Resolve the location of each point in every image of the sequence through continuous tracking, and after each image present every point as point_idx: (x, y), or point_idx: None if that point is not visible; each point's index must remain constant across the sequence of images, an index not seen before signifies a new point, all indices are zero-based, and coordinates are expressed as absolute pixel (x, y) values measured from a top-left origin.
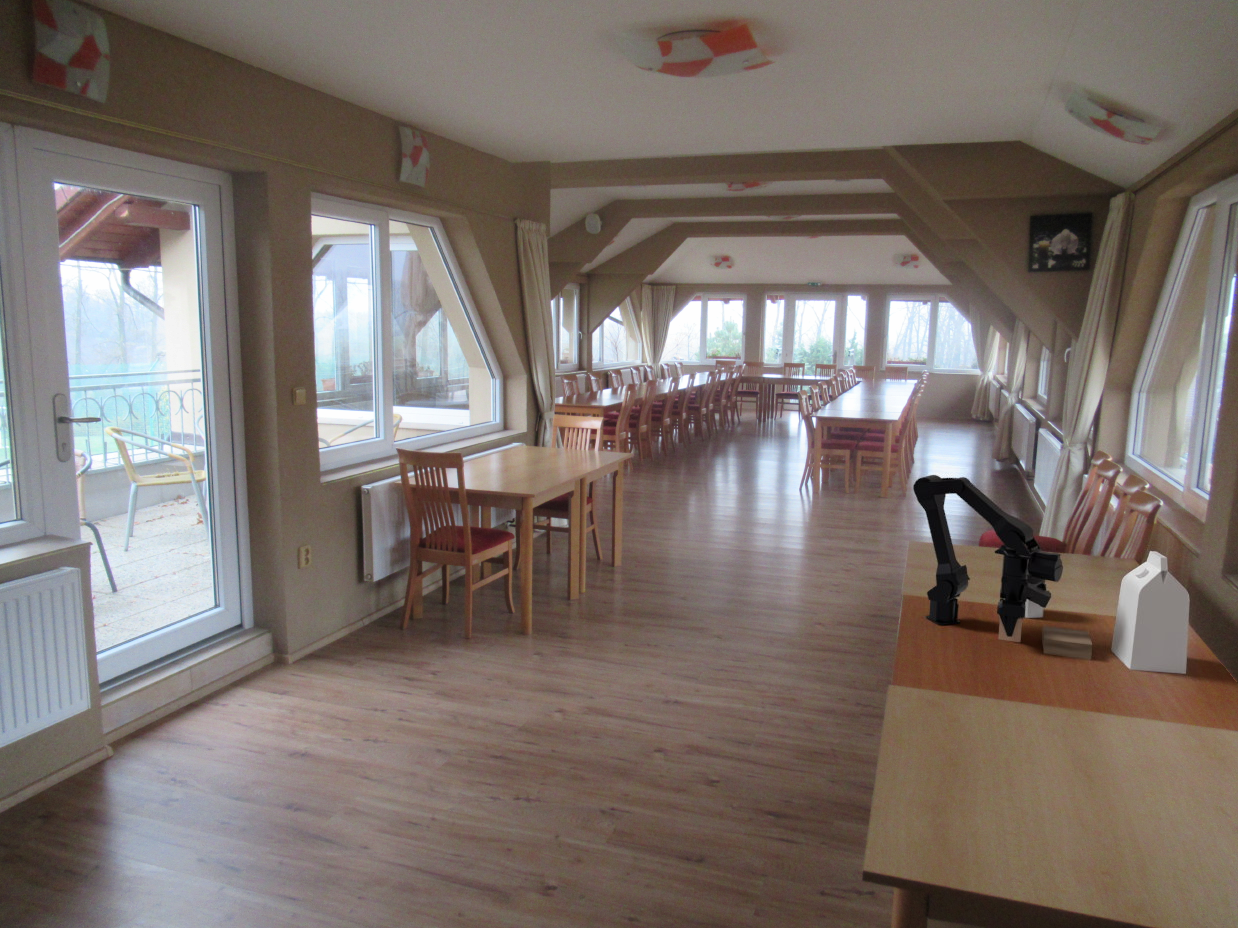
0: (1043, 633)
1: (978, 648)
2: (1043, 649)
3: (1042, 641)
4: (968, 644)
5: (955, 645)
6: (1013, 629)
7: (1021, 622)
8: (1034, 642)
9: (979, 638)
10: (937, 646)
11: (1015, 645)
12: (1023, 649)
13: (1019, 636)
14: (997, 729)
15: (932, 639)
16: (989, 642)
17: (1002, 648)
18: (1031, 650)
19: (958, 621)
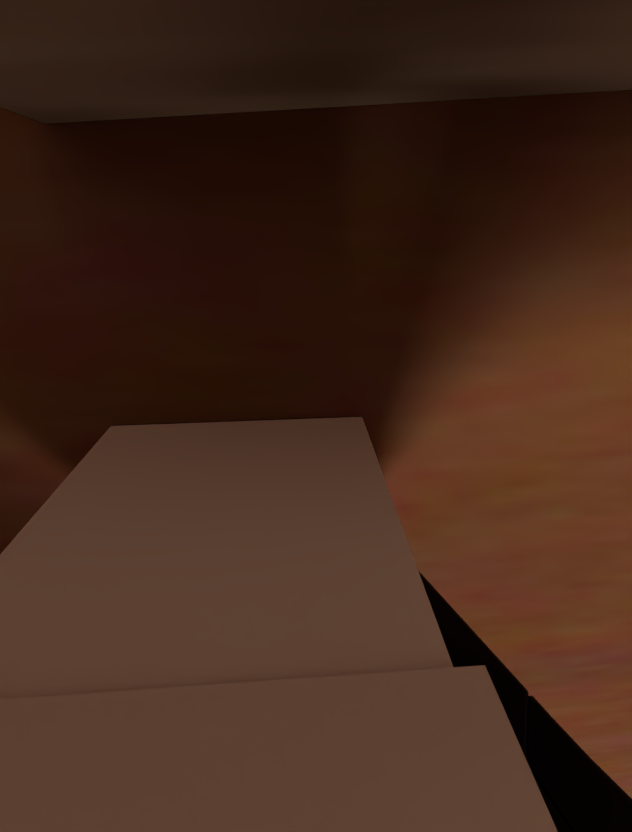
0: (338, 11)
1: (624, 651)
2: (598, 88)
3: (233, 104)
4: (551, 696)
5: (585, 731)
6: (462, 625)
7: (488, 713)
8: (274, 247)
9: None
10: (616, 771)
11: (484, 451)
12: (601, 370)
13: (378, 470)
14: None
15: None
16: (468, 620)
17: (600, 536)
18: (625, 278)
19: None
